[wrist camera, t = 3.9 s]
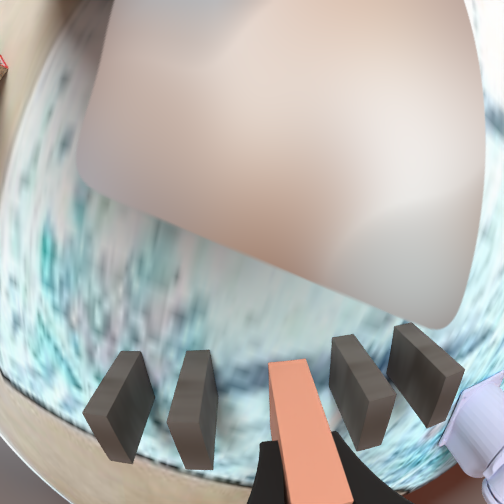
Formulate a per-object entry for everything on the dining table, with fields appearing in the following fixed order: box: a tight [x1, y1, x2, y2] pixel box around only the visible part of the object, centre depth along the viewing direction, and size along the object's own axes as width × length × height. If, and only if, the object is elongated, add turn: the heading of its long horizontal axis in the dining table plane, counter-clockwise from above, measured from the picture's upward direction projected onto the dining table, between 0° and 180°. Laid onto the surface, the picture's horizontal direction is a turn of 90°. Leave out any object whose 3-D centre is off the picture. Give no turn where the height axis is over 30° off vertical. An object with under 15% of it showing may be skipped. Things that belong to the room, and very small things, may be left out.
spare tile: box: [268, 359, 354, 504], centre depth 9 cm, size 4×2×7 cm, turn 3°
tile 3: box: [167, 350, 218, 470], centre depth 16 cm, size 4×2×7 cm, turn 4°
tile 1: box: [387, 323, 465, 428], centre depth 16 cm, size 4×2×7 cm, turn 4°
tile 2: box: [329, 334, 397, 451], centre depth 16 cm, size 4×2×7 cm, turn 4°
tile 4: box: [82, 351, 155, 464], centre depth 16 cm, size 4×2×7 cm, turn 4°
